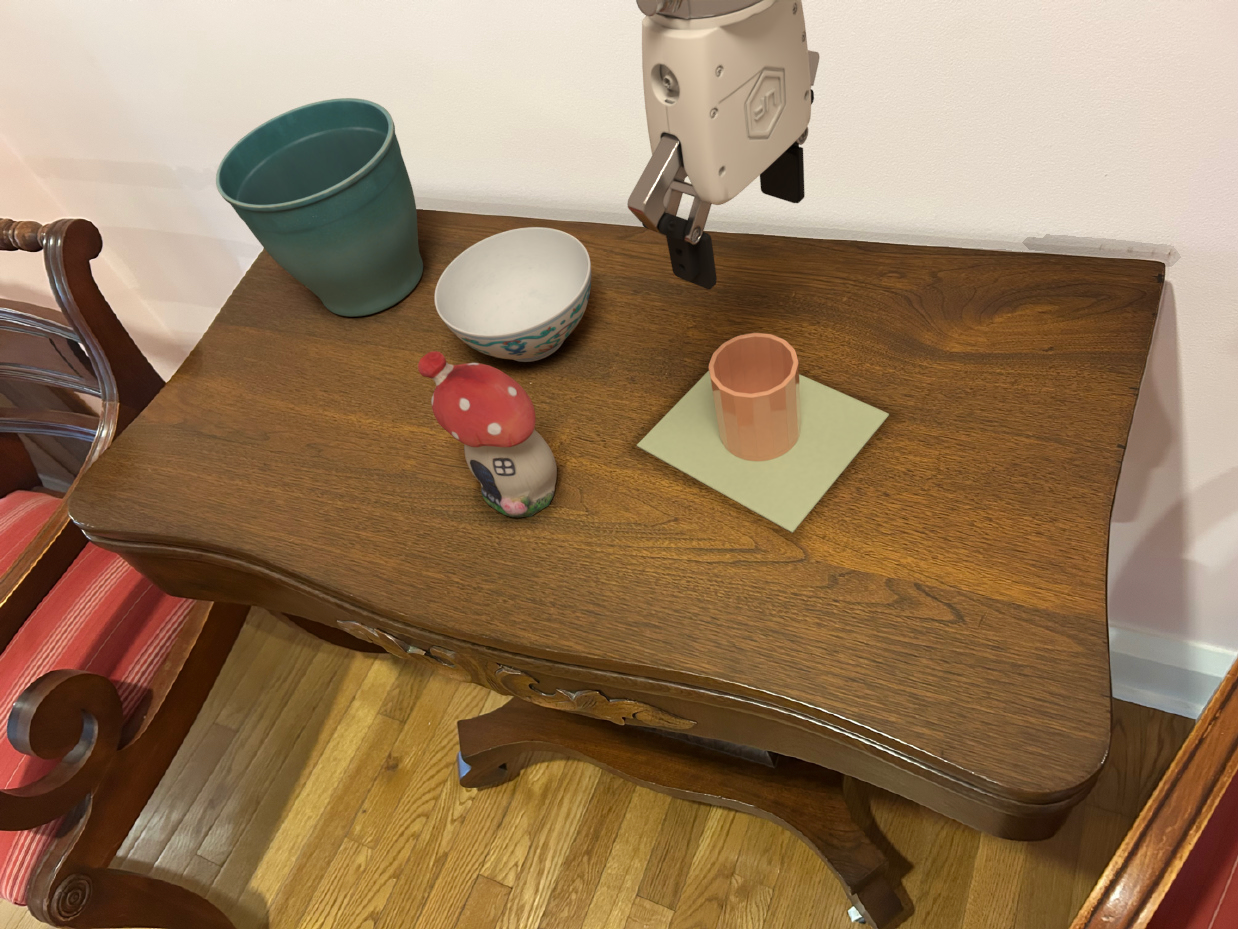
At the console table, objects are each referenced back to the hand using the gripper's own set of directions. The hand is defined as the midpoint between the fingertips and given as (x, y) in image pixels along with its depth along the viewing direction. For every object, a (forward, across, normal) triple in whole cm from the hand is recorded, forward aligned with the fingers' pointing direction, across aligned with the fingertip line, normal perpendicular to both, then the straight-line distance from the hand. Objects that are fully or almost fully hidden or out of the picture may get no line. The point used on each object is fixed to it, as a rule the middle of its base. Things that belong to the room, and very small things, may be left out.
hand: (740, 237), depth 57 cm
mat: (+20, 0, 0) cm, 20 cm away
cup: (+20, 0, 0) cm, 20 cm away
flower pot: (+20, -5, +49) cm, 53 cm away
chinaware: (+20, -2, +26) cm, 33 cm away
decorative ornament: (+20, -16, +14) cm, 30 cm away
